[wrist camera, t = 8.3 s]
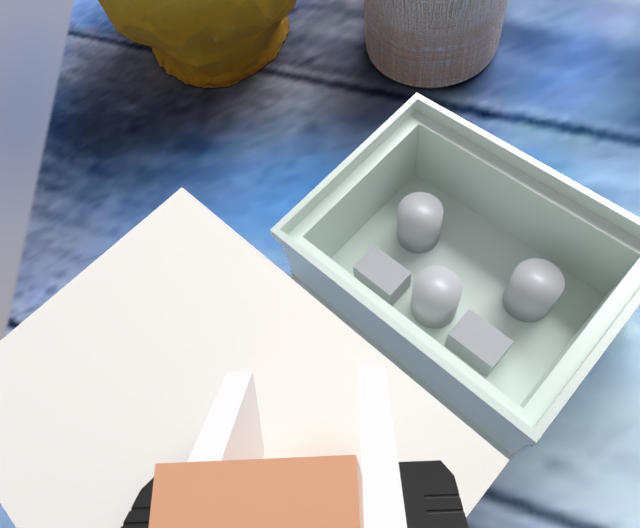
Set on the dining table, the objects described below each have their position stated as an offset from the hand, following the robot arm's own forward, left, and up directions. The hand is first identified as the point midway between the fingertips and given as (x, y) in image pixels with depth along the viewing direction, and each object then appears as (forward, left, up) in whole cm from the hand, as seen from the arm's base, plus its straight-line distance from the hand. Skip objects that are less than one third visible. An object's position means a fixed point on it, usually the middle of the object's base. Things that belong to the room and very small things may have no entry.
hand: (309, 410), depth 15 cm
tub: (+2, -13, -17) cm, 21 cm away
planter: (+17, -30, -17) cm, 38 cm away
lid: (+3, +3, -3) cm, 5 cm away
